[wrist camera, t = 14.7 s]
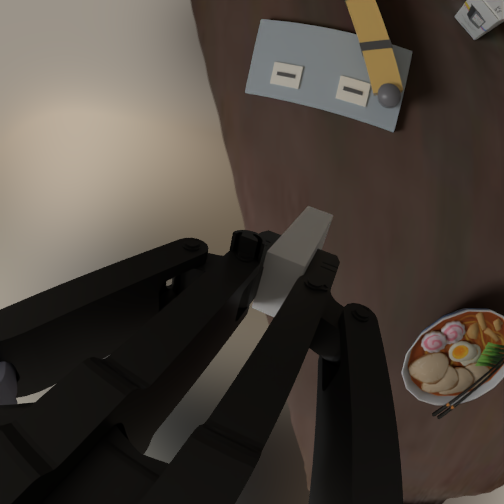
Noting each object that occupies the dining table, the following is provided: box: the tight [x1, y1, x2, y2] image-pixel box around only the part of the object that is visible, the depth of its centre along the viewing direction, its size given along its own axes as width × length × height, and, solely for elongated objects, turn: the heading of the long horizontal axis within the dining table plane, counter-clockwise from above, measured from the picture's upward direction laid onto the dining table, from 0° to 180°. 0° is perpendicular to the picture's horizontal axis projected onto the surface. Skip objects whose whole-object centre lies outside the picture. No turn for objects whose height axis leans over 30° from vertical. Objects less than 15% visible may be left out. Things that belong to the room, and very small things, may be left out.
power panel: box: [245, 19, 412, 132], centre depth 36 cm, size 23×13×2 cm, turn 79°
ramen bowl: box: [401, 308, 504, 419], centre depth 41 cm, size 25×23×8 cm
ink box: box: [455, 0, 504, 40], centre depth 18 cm, size 9×5×12 cm, turn 133°
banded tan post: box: [344, 0, 403, 109], centre depth 29 cm, size 22×4×5 cm, turn 14°
